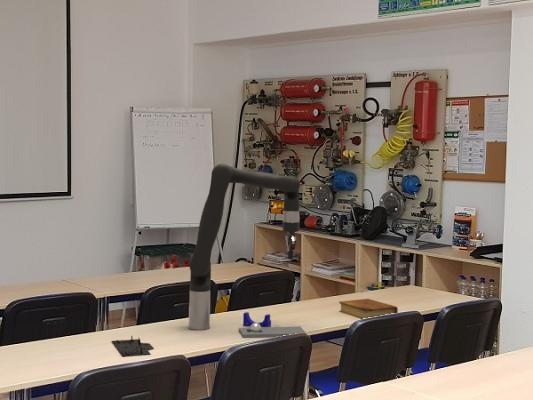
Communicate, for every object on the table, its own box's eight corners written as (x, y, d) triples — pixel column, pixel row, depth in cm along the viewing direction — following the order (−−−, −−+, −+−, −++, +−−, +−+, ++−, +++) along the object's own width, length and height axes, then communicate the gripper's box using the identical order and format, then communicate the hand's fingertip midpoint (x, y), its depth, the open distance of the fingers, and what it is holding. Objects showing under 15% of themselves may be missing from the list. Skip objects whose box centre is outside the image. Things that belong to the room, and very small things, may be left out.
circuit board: (111, 342, 348) (111, 335, 348) (145, 340, 353) (145, 333, 353) (122, 358, 325) (122, 350, 325) (158, 355, 330) (158, 347, 330)
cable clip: (271, 326, 381) (271, 313, 381) (267, 328, 377) (267, 315, 377) (246, 324, 386) (247, 311, 385) (243, 326, 381) (243, 313, 381)
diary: (397, 318, 406) (397, 306, 406) (366, 321, 397) (366, 309, 397) (369, 309, 426) (369, 298, 426) (338, 312, 417) (339, 301, 416)
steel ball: (249, 325, 363) (261, 323, 363) (248, 323, 368) (259, 320, 368) (252, 336, 363) (263, 334, 364) (250, 333, 368) (261, 331, 369)
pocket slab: (242, 337, 359) (242, 334, 359) (238, 330, 371) (238, 327, 371) (306, 336, 363) (306, 333, 363) (300, 329, 376) (300, 326, 376)
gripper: (280, 219, 379) (279, 257, 380) (285, 222, 366) (284, 261, 367) (296, 219, 380) (295, 256, 381) (302, 222, 367) (301, 261, 368)
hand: (290, 259), depth 374 cm, fingers closed
